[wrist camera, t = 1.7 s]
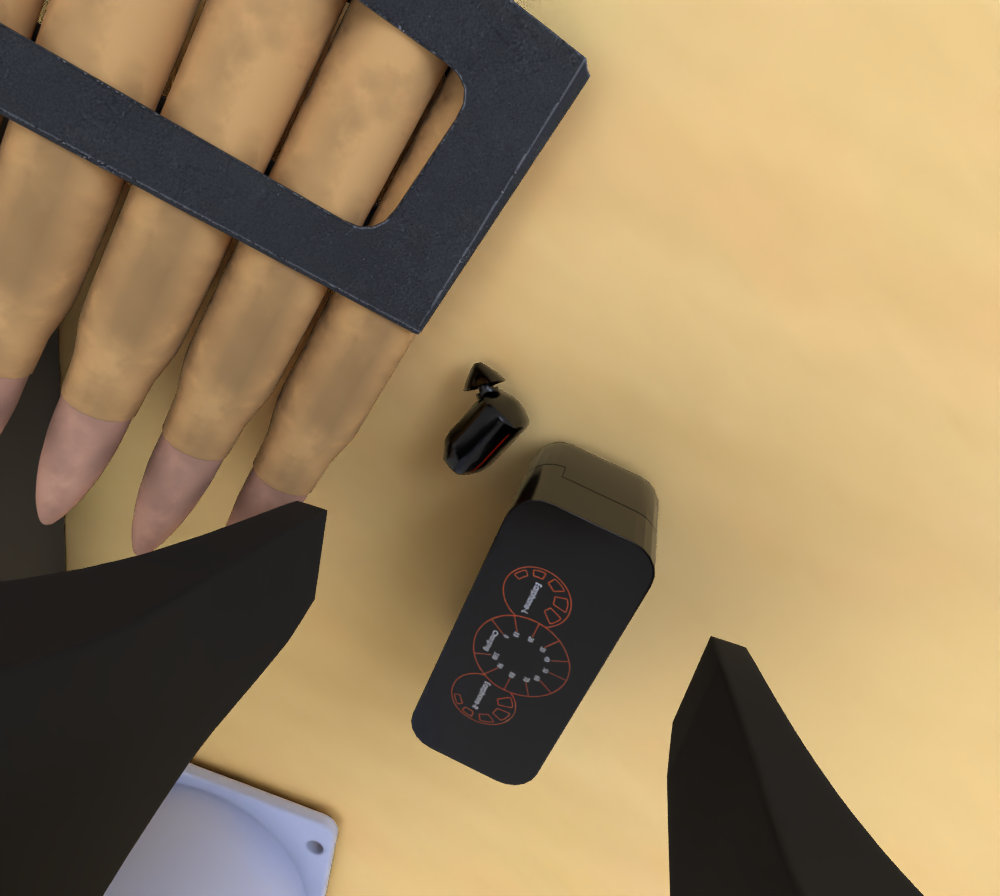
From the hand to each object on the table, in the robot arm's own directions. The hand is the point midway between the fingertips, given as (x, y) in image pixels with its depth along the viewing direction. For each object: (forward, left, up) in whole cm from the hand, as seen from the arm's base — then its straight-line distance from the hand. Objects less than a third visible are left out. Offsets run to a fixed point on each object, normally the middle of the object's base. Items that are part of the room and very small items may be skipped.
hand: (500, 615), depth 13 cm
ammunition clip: (+11, +6, -1) cm, 12 cm away
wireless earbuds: (0, 0, -4) cm, 4 cm away
